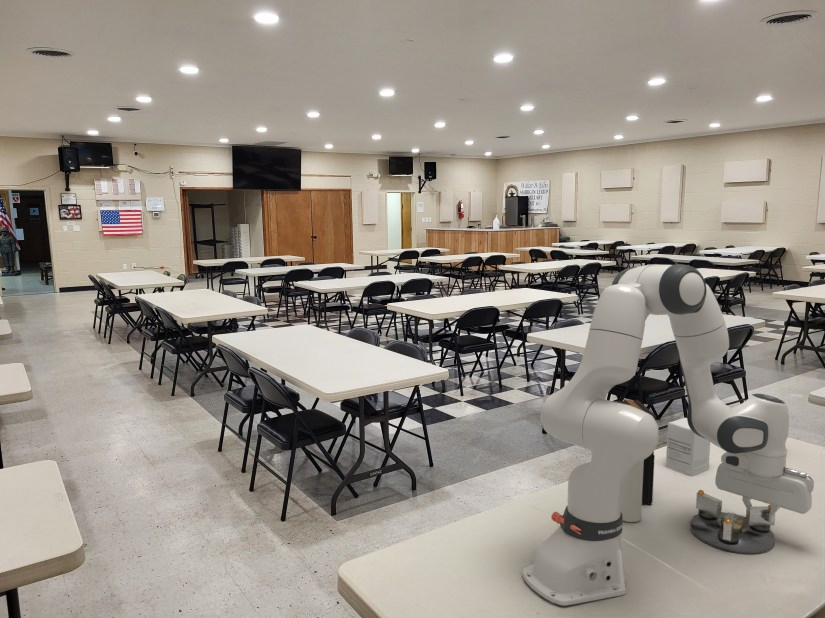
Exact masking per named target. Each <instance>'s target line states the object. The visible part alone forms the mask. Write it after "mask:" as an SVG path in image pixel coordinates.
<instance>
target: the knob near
mask: <svg viewBox="0 0 825 618" xmlns="http://www.w3.org/2000/svg"><path fill="white" fill-rule="evenodd" d="M726 513H727V515H726V518H725V521H724V528H723V530H719V531H718V539H719V540H720V541H722V542H724V543H728V544H737V543H738V542H739V535H738V534H737V533H735V532H733V531H734V522H735V514H736V513H734V512H733V513H732V512H729V511H728V512H726Z"/></svg>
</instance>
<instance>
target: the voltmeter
mask: <svg viewBox="0 0 825 618" xmlns="http://www.w3.org/2000/svg"><path fill="white" fill-rule="evenodd" d="M614 402H617V403H622V404H626V405H630V406H633V407H635V408H637V409H640V410H642V411H644V412H646V413H648V414H650V415H652V416H653V417H654V419H655V421H656V422H657V416H656V414H655V413H653V412H652V410H650V409H649V408H647V407H646V406H645V405H644V404H643V403H642V402H641V401H640V400H638V399H635V400H632V399H623V400H616V401H614ZM654 472H655V451H654V452H653V453H652V454H651V455H650V456H649V457H647V458H646V459H644V465H643V487H642V504H647V505H649V506H651V505H652V504H653V496H654V477H655V475H654V474H655V473H654Z"/></svg>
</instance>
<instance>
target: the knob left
mask: <svg viewBox="0 0 825 618" xmlns="http://www.w3.org/2000/svg"><path fill="white" fill-rule="evenodd" d="M695 500H696V501H695V508H696V509H698V513H697V514H698V515H699V517H700V518H702V519H705V520H709V521H715V520H717V519H718V517H720V516H721V512H723V511H722V510H723V509H722V508H723V500H721V499H719V498H716V497H715V496H713V495H710V494H708V493H706V492H705V491H704V490H702V489H698V490H697V492H696V499H695Z"/></svg>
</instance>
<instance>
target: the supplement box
mask: <svg viewBox="0 0 825 618" xmlns="http://www.w3.org/2000/svg"><path fill="white" fill-rule="evenodd" d="M666 440H667V441H666V453H665V454H666V455H665V456H666V458H665V460H666V461H665V468H667V469H669V470H672V471H675V472H676V473H677V472H678V473H680V474H682V475H686V476H688V477H695V476H697V475H699V474H702V473H705V472H706V471H709V469H710V451H711V442H710V441H708V440H707V439H704V438H702V437H700V436H698V435H696V434H695V433H694V432H693V431H692V430H691V429H690V427H689V425H688V421H687V417H682V418H679V419H677V420H674V421H670V422H667V437H666Z"/></svg>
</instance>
